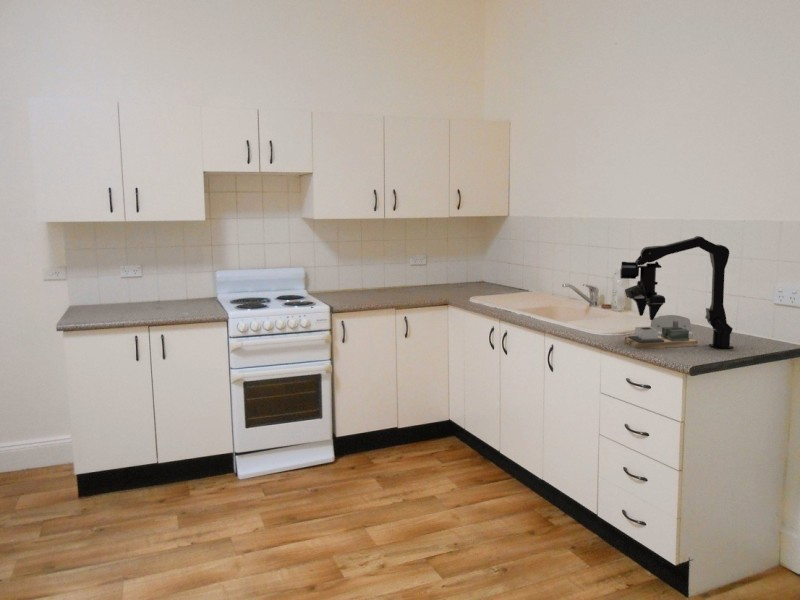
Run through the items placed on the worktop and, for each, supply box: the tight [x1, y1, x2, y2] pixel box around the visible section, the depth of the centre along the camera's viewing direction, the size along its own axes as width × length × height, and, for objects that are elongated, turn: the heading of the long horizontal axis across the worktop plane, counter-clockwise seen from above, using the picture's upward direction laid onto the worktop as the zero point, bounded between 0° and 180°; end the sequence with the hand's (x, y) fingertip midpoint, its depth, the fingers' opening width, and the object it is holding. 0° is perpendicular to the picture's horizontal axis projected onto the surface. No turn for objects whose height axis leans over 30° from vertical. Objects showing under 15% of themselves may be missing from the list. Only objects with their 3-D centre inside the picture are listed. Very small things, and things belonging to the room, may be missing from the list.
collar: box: [634, 326, 658, 340], centre depth 255 cm, size 6×6×4 cm
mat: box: [628, 335, 664, 343], centre depth 255 cm, size 10×10×1 cm
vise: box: [624, 321, 698, 350], centre depth 256 cm, size 12×24×9 cm, turn 94°
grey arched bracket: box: [650, 314, 694, 339], centre depth 270 cm, size 17×5×10 cm, turn 80°
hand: (646, 317), depth 254 cm, fingers open, 9 cm apart
